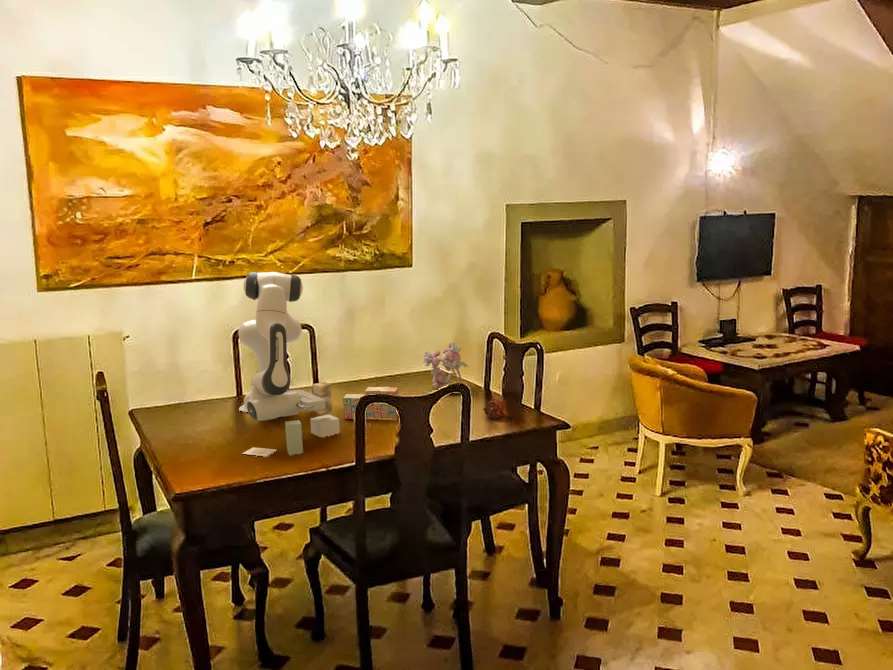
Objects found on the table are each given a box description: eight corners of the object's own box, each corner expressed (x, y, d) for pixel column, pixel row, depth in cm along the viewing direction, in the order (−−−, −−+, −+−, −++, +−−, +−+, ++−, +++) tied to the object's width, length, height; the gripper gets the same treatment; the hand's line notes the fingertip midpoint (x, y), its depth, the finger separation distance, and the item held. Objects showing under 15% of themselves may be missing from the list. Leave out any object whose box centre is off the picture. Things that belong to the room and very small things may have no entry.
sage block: (287, 451, 307) (285, 421, 305) (301, 449, 309) (299, 420, 307) (288, 455, 303) (287, 425, 301) (303, 453, 304) (301, 423, 302)
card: (242, 455, 305) (242, 452, 304) (252, 448, 311) (252, 446, 311) (266, 457, 301) (266, 455, 301) (277, 451, 308) (276, 449, 308)
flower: (479, 381, 394) (454, 333, 392) (483, 388, 371) (456, 337, 369) (441, 401, 394) (415, 353, 392) (441, 410, 372) (414, 359, 370)
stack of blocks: (343, 420, 344) (342, 390, 342) (347, 415, 350) (345, 386, 348) (396, 420, 341) (395, 390, 339) (399, 416, 348) (398, 386, 345)
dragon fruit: (494, 426, 335) (492, 421, 347) (512, 413, 335) (509, 409, 347) (481, 409, 335) (479, 405, 347) (498, 395, 335) (496, 392, 347)
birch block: (320, 415, 322) (319, 386, 320) (314, 412, 326) (312, 384, 324) (332, 412, 325) (330, 384, 323) (326, 409, 329) (324, 381, 327)
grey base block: (321, 438, 322) (320, 422, 321) (311, 433, 328) (310, 418, 327) (339, 434, 326) (339, 418, 325) (329, 429, 333) (329, 414, 332)
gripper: (303, 400, 308) (337, 393, 316) (279, 389, 324) (311, 383, 332) (304, 417, 309) (338, 410, 317) (280, 405, 325) (312, 399, 333)
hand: (324, 396), depth 325 cm, fingers closed on birch block, 5 cm apart
